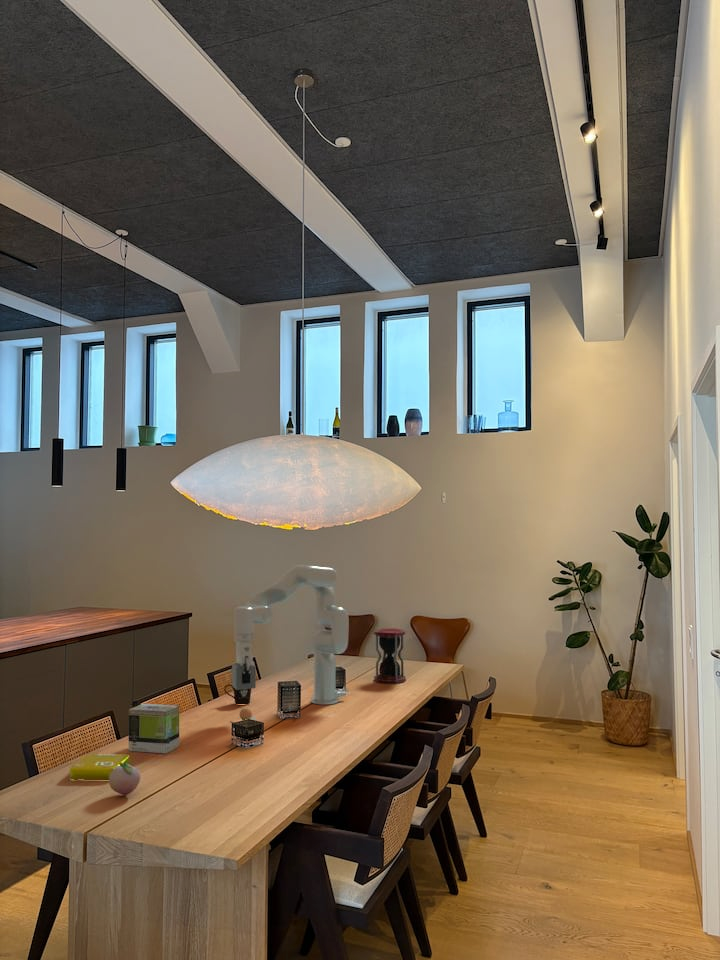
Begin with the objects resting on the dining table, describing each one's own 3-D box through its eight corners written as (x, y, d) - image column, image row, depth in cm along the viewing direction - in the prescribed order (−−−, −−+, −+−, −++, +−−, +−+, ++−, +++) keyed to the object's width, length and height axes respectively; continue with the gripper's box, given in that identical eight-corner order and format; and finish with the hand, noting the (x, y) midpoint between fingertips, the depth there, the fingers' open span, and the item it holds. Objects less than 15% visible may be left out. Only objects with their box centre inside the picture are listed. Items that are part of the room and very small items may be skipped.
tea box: (180, 746, 270) (180, 704, 270) (165, 754, 260) (165, 711, 261) (142, 743, 274) (143, 702, 274) (127, 751, 264) (127, 708, 265)
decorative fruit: (103, 795, 221) (103, 761, 222) (128, 788, 227) (129, 755, 228) (118, 804, 215) (118, 768, 215) (144, 796, 220) (144, 762, 221)
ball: (236, 709, 305) (240, 720, 306) (239, 712, 301) (243, 724, 301) (248, 704, 307) (252, 715, 307) (250, 707, 302) (254, 718, 303)
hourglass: (368, 678, 382) (368, 629, 384) (396, 676, 389) (396, 627, 390) (382, 685, 368) (382, 633, 369) (411, 682, 374) (411, 631, 376)
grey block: (250, 684, 309) (250, 662, 310) (255, 688, 302) (255, 665, 302) (232, 685, 306) (231, 664, 307) (236, 689, 299) (236, 667, 299)
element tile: (131, 767, 248) (131, 752, 249) (114, 782, 233) (115, 767, 234) (86, 766, 249) (86, 752, 249) (67, 782, 234) (67, 766, 234)
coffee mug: (254, 701, 336) (254, 678, 336) (249, 706, 327) (249, 682, 328) (228, 700, 337) (228, 678, 337) (223, 705, 328) (223, 682, 329)
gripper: (258, 640, 298) (258, 684, 298) (247, 633, 315) (247, 676, 314) (239, 641, 296) (239, 686, 295) (229, 635, 312) (229, 677, 311)
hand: (243, 680), depth 304 cm, fingers closed on grey block, 7 cm apart
